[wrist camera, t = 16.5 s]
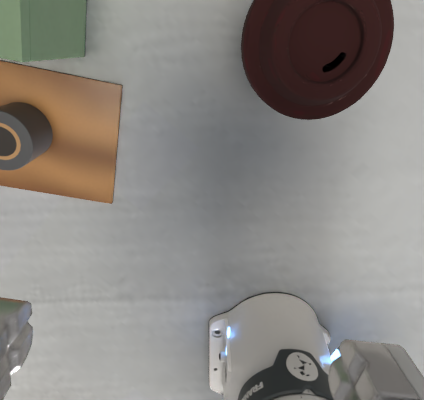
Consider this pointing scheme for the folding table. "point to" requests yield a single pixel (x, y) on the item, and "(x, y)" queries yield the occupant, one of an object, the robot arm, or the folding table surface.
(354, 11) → the coffee cup
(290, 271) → the folding table surface
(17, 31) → the shelf
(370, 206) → the folding table surface
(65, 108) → the copper sheet
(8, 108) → the tape roll
